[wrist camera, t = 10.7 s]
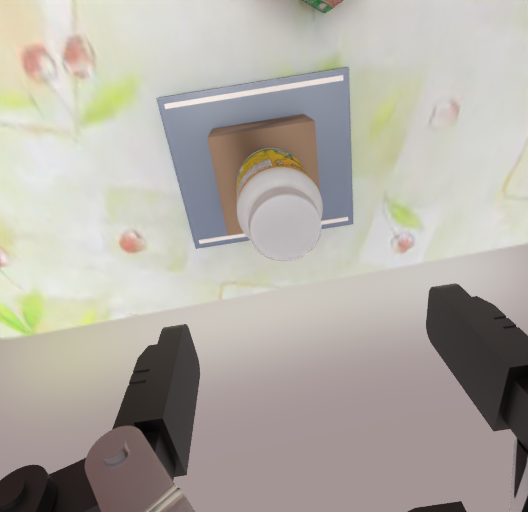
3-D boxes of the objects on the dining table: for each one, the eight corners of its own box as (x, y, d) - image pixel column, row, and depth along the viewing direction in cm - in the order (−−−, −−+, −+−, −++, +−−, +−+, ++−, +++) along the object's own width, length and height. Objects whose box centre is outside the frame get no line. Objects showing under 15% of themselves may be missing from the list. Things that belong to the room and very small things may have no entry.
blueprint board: (345, 67, 30) (349, 67, 29) (350, 220, 36) (353, 224, 35) (159, 97, 30) (156, 98, 29) (196, 244, 36) (195, 249, 35)
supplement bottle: (223, 173, 27) (215, 218, 19) (280, 131, 26) (301, 159, 18) (262, 225, 29) (272, 287, 21) (317, 189, 28) (351, 239, 20)
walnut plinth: (303, 113, 30) (314, 120, 26) (311, 201, 34) (321, 221, 30) (212, 128, 30) (207, 137, 26) (229, 214, 34) (227, 235, 30)
